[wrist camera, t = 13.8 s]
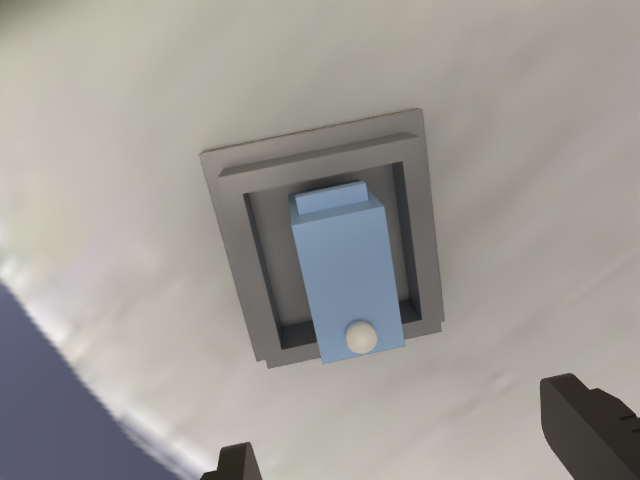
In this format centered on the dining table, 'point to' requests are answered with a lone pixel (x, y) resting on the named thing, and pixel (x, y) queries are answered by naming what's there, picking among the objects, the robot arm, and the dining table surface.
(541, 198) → the dining table surface
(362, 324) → the block
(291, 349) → the grey shallow square tray
